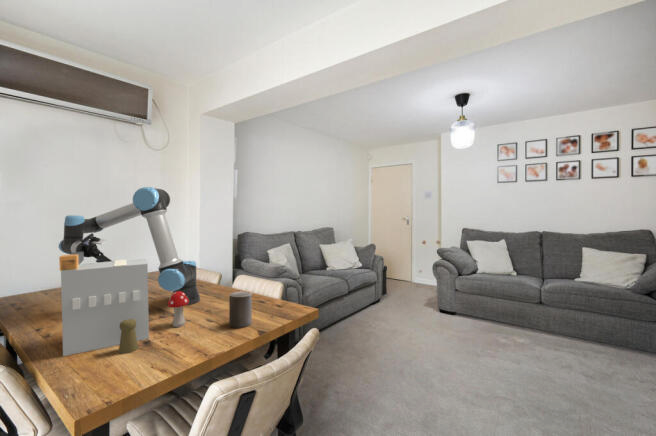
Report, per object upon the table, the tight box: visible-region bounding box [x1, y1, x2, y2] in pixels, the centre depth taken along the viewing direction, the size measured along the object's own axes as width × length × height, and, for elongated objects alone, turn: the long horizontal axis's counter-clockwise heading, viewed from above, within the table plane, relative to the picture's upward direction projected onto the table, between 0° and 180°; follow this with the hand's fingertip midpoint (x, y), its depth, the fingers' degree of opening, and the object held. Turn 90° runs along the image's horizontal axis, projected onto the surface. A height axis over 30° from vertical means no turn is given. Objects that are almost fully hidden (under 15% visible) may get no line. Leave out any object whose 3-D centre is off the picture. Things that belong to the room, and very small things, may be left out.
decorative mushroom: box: [167, 291, 189, 328], centre depth 135 cm, size 10×9×15 cm
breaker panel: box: [60, 258, 150, 357], centre depth 119 cm, size 17×26×30 cm, turn 124°
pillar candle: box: [228, 290, 253, 329], centre depth 135 cm, size 10×10×15 cm
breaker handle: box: [58, 252, 85, 272], centre depth 117 cm, size 26×5×5 cm, turn 34°
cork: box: [118, 319, 139, 355], centre depth 111 cm, size 6×6×11 cm
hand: (112, 253), depth 139 cm, fingers open, 13 cm apart
